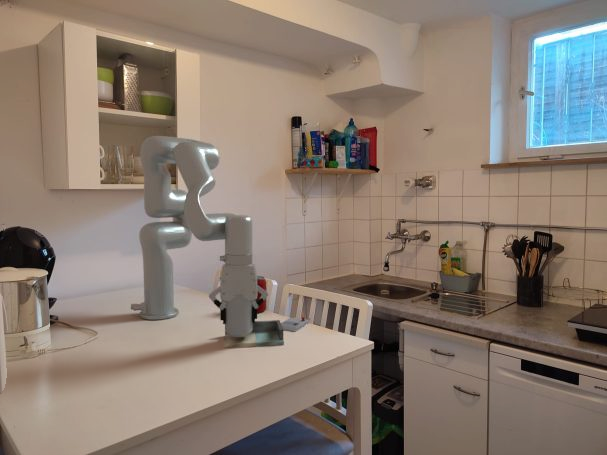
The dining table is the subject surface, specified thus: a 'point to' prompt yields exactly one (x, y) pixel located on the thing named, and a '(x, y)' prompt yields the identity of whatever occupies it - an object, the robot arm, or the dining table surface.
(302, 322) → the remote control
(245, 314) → the can
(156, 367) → the dining table surface
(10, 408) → the dining table surface
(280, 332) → the grey green tray
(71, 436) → the dining table surface
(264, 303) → the beverage can
